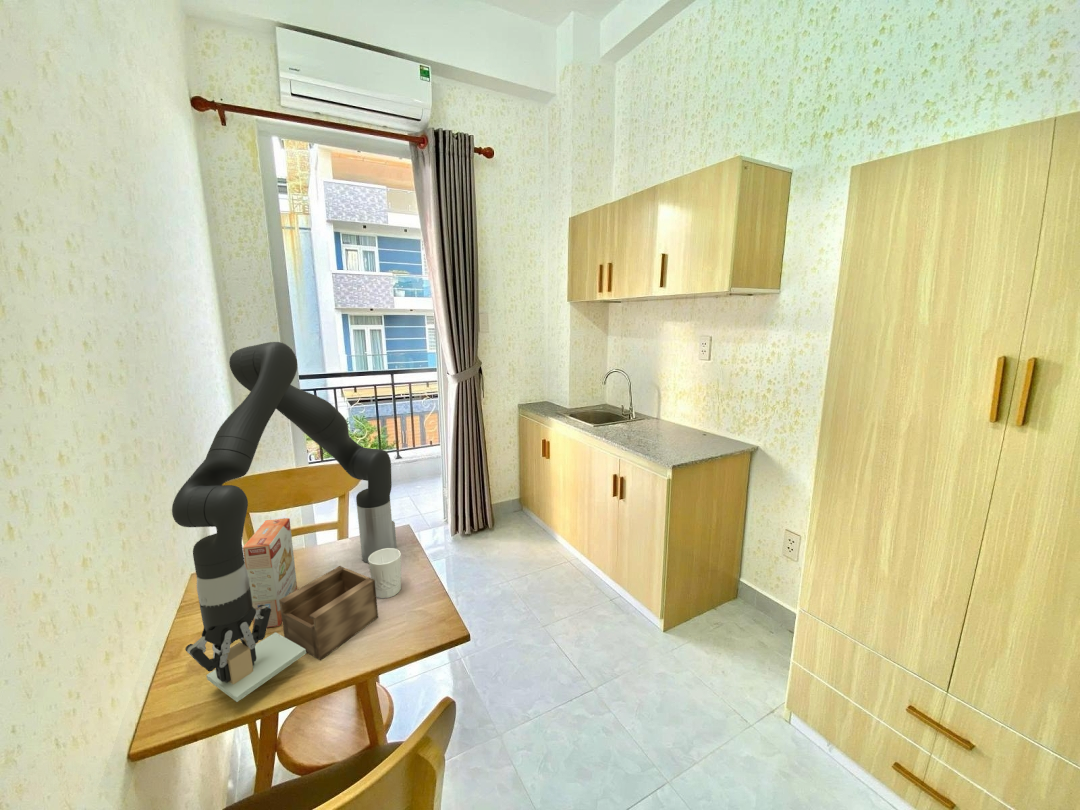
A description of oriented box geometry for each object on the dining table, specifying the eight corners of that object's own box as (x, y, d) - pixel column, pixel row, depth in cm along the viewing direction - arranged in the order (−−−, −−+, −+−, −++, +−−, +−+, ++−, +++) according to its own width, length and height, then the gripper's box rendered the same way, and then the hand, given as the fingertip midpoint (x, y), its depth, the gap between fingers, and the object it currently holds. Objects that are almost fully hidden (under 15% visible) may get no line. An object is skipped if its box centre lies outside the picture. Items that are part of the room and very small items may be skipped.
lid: (276, 636, 93) (272, 611, 92) (306, 653, 88) (302, 627, 87) (207, 679, 82) (202, 651, 80) (237, 702, 77) (232, 673, 76)
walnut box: (343, 601, 109) (339, 565, 107) (378, 617, 103) (374, 579, 101) (284, 640, 96) (279, 599, 94) (320, 660, 90) (315, 618, 88)
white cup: (404, 596, 111) (401, 560, 109) (371, 603, 108) (367, 566, 106) (402, 579, 118) (399, 545, 116) (371, 585, 115) (368, 551, 113)
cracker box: (282, 626, 100) (270, 543, 96) (253, 631, 99) (239, 547, 94) (300, 590, 113) (290, 516, 109) (274, 594, 112) (263, 519, 108)
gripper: (254, 566, 86) (265, 641, 89) (167, 606, 74) (183, 692, 77) (276, 576, 82) (286, 654, 86) (189, 620, 70) (205, 710, 74)
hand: (237, 672), depth 81 cm, fingers closed on lid, 3 cm apart
